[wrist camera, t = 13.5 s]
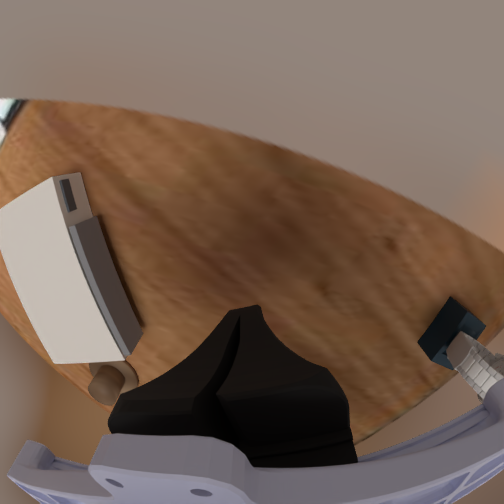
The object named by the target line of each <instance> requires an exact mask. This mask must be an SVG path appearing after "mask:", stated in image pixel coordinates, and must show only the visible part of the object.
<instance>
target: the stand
mask: <svg viewBox="0 0 504 504" xmlns="http://www.w3.org/2000/svg"><path fill="white" fill-rule="evenodd" d="M89 368H90V371H91V374H92V375H93V377H94V378H93V380H92V381H91V383H90V384H89V386H88V391H89V393H90V395H91V396H92V397H93V398H94V399H95V400H97V401H98V402H100V403H102V404H104V405H113V404H114V403H115V402H116V400H117V398H118V396H119V394H122V393H125V392H127V391H130V390H132V389H135V388H137V386H138V376H137V374H136V372H135V370H134V369H133V367H132V366H131V365H130V364H129V363H128V362H127V361H125V360H123V361H109V362H92V363H89Z"/></svg>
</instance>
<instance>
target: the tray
mask: <svg viewBox="0 0 504 504" xmlns="http://www.w3.org/2000/svg"><path fill="white" fill-rule="evenodd" d="M69 230H70V233H71V236H72V239H73V242H74V245H75V247H76V250H77V253H78V256H79V258H80V261H81V264H82V266H83V269H84V271H85V274H86V276H87V279H88V281H89V283H90V286H91V288H92V290H93V293H94V295H95V297H96V300H97V302H98V304H99V306H100V308H101V310H102V313H103V315H104V317H105V319H106V321H107V323H108V325H109V327H110V329H111V331H112V333H113V335H114V337H115V339H116V341H117V343H118V344H119V346H120V348H121V350H122V352H123V354H124V355H131V354H132V352H133V350H134V348H135V347H136V345H137V343H138V342H139V340H140V338H141V336H142V335H143V332H142V329H141V327H140V325H139V323H138V321H137V319H136V317H135V314H134V312H133V310H132V308H131V305H130V303H129V301H128V299H127V296H126V294H125V292H124V289H123V287H122V284H121V282H120V279H119V277H118V274H117V272H116V269H115V267H114V264H113V261H112V259H111V256H110V253H109V251H108V248H107V245H106V242H105V239H104V236H103V233H102V230H101V227H100V224H99V221H98V218H97V216H94V217H92V218H89V219H87V220H85V221H82V222H80V223H78V224H75V225H73V226H71V227H69Z"/></svg>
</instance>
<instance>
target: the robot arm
mask: <svg viewBox="0 0 504 504" xmlns="http://www.w3.org/2000/svg"><path fill="white" fill-rule="evenodd" d="M108 427H109V430H110V431H111V433H112V434H109V435H103V436H102V438H101V440H100V443H99V445H98V447H97V449H96V451H95V453H94V456H93V458H92V460H91V463H90V465H85V464H81V463H77V462H73V461H70V460H66V459H62V458H59V457H56V456H55V455H54V454H53V453H52V452H51V451H50V450H49V449H48V448H47V447H46V446H44V445H43V444H41V443H38V442H35V441H32V440H27V441H26V443H25V445H24V446H23V448H22V449H21V451H20V453H19V454H18V456H17V458H16V459H15V461H14V463H13V465H12V466H11V468H10V470H9V471H8V474H7V476H8V477H9V478H10V479H11V480H12V481H13V482H15V483H16V484H17V485H18V486H19V487H20V488H22V489H23V490H24V491H25V492H27V493H28V494H29V495H30V496H32V497H33V498H34V499H36V500H37V501H38V502H40V503H41V504H452V503H454V502H455V501H457V500H459V499H460V498H462V497H464V496H465V495H467V494H468V493H470V492H471V491H473V490H475V489H476V488H478V487H479V486H481V485H482V484H484V483H485V482H487V481H488V480H489V479H491V478H492V477H494V476H495V475H496V474H498V473H499V472H501V471H502V470H503V469H504V378H502V379H501V380H499V381H498V382H496V383H495V384H494V385H492V386H491V387H490V388H489V390H488V391H487V393H486V395H485V397H484V400H483V403H482V404H481V405H479V406H477V407H476V408H474V409H472V410H471V411H469V412H467V413H465V414H463V415H461V416H459V417H458V418H456V419H454V420H452V421H450V422H448V423H446V424H444V425H442V426H440V427H438V428H435V429H433V430H431V431H429V432H426V433H424V434H422V435H419V436H417V437H415V438H412V439H410V440H407V441H405V442H402V443H399V444H397V445H394V446H391V447H388V448H386V449H383V450H380V451H377V452H374V453H370V454H367V455H364V456H360V457H357V455H356V451H355V447H354V444H353V436H352V432H351V429H350V417H349V404H348V400H347V398H346V396H345V394H344V392H343V390H342V388H341V387H340V385H339V384H338V382H337V381H336V379H335V378H334V377H333V375H332V374H331V373H330V372H329V370H328V369H327V368H325V367H322V366H319V365H316V364H314V363H311V362H309V361H307V360H305V359H303V358H302V357H300V356H299V355H297V354H296V353H294V352H293V351H291V350H290V349H289V348H288V347H286V346H285V345H284V344H283V343H282V342H281V341H280V340H279V339H278V338H277V337H276V336H275V335H274V333H273V332H272V331H271V329H270V328H269V327H268V325H267V324H266V322H265V320H264V317H263V314H262V310H261V307H260V306H259V305H253V306H249V307H244V308H239V309H234V310H230V311H229V312H228V313H227V314H226V315H225V316H224V318H223V319H222V320H221V322H220V323H219V324H218V325H217V327H216V328H215V329H214V330H213V331H212V333H211V334H210V335H209V336H208V337H207V338H206V339H205V340H204V341H203V343H202V344H201V345H200V346H199V347H198V348H197V349H196V350H195V351H194V352H193V353H191V354H190V355H189V356H188V357H187V358H186V359H184V360H183V361H182V362H181V363H179V364H178V365H176V366H175V367H173V368H172V369H170V370H169V371H168V372H166V373H164V374H163V375H161V376H159V377H158V378H156V379H154V380H152V381H150V382H148V383H146V384H144V385H142V386H140V387H137V388H135V389H132V390H130V391H127V392H125V393H122V394H120V396H119V398H118V400H117V402H116V404H115V406H114V408H113V410H112V412H111V415H110V417H109V419H108Z"/></svg>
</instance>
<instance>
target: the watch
mask: <svg viewBox="0 0 504 504" xmlns="http://www.w3.org/2000/svg"><path fill="white" fill-rule="evenodd" d="M485 327H486V325H485V324H483V323H482V322H481V321H480V320H479V319H478V318H477V317H476V316H475V315H473V314H472V313H471V312H470V311H469V310H468V309H466V308H465V307H464V306H462V305H461V304H460V303H458V302H457V301H456V300H454V299H453V298H452V297H450V298H449V299H448V301H447V302H446V304H445V305H444V307H443V308H442V309H441V311H440V312H439V314H438V315H437V317H436V318H435V319H434V321H433V322H432V323H431V325H430V326H429V328H428V329H427V330H426V332H425V333H424V334H423V336H422V337H421V338H420V339H419V341H418V342H417V343H418V344H419V345H420V347H421V348H422V349H423V351H424V352H425V353H426V355H427V356H428V357H429V359H430V360H431V361H433V362H435V363H437V364H439V365H442V366H444V367H446V368H449V369H451V370H453V369H455V370H457V371H458V372H459V373H460V374H461V375H462V377H463V378H464V379H465V380H466V381H467V382H468V384H469V385H470V386H471V387H472V388H473V389H474V390H475V391H476V392H477V394H478V399H479V401H480V402H481V403H483V400H484V397H485V395H486V393H487V391H488V390H489V388H490V387H491V386H492V385H494V384H495V383H496V382H498V381H499V380H501V379H502V378H504V355H501V354H498V353H496V354H495V356H496V357H495V356H494V355H493V354H492V353H491V352H490V351H489V350H487V349H486V348H485V347H484V346H483V345H482V344H480V343H479V342H478V341H476V340H477V339H478V337H479V336H480V334H481V333H482V332H483V330H484V329H485ZM482 350H483V351H482ZM489 354H490V355H489ZM485 355H486V356H485ZM484 356H485V357H484ZM468 375H469V376H468ZM474 378H475V379H474Z"/></svg>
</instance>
